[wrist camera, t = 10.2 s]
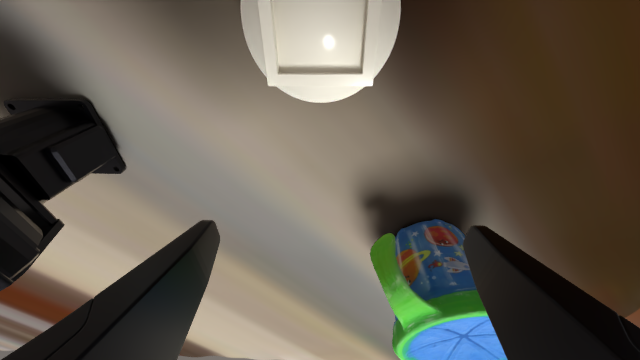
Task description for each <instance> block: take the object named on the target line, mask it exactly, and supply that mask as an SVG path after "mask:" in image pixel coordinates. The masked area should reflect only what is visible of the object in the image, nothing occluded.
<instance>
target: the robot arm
mask: <svg viewBox="0 0 640 360" xmlns="http://www.w3.org/2000/svg"><path fill="white" fill-rule="evenodd" d="M4 105H5V107H6V108H7V110H8V111H9V112H10V114H11V115H10V116H7V117H4V118H1V119H0V291H1V290H3V289H5V288H6V287H8V286H10V285H11V284H12V283H13V282H14V281H16V280H17V279H18V278H19V277H21V276H22V275H23V274H24V273H25V272H26V271H27V270H28V269H29V268H30V266H31V265H32V264H33V263H34V262H35V260H36V259H37V258H38V257H39V255H40V254H41V253H42V252H43V251H44V249H45V248H46V247H47V246H48V244H49V243H50V242H51V241H52V240H53V238H54V237H55V236H56V235H57V233H58V232H59V231H60V230H61V229H62V227H63V226H64V223H63V222H62V221H61V220H60V219H56V218H55V216H54V215H53V214H52V213H51V212H50V211H49V210H48V209H47V208H46V207H45V206H44V205H43V203H45V202H46V201H48V200H50V199H52V198H53V197H55V196H56V195H58V194H59V193H61V192H62V191H64V190H65V189H67V188H68V187H70V186H71V185H73V184H74V183H76V182H78V181H80V180H81V179H83V178H84V177H86V176H87V175H89V174H90V173H103V174H120V173H122V172H123V171H125V169H126V168H125V166H124V164H123V162H122V160H121V158H120V157H119V155H118V153H117V151H116V149H115V147H114V146H113V144H112V142H111V140H110V138H109V136H108V135H107V133H106V131H105V129H104V127H103V125H102V124H101V122H100V120H99V118H98V116H97V114H96V113H95V111H94V109H93V107H92V105H91V104H90V103H89V102H88V101H86V100H84V99H10V100H6V101H4ZM82 105H83V106H84V107H83V106H82ZM219 243H220V235H219V232H218V229H217V226H216V224H215V222H214V221H213V220H202V221H200V222H198V223H197V224H196V225H194V226H193V227H191V228H190V229H189V230H187V231H186V232H184V233H183V234H182V235H180V236H179V237H177V238H176V239H175V240H173V241H172V242H170V243H169V244H168V245H166V246H165V247H163V248H162V249H161V250H159V251H158V252H156V253H155V254H154V255H152V256H151V257H149V258H148V259H147V260H145V261H144V262H142V263H141V264H140V265H138V266H137V267H135V268H134V269H133V270H131V271H130V272H128V273H127V274H126V275H124V276H123V277H121V278H120V279H119V280H117V281H116V282H114V283H113V284H112V285H110V286H109V287H107V288H106V289H105V290H103V291H102V292H100V293H99V294H98V295H96V296H95V297H94V299H91V300H89V301H88V302H86V303H85V304H84V305H82V306H81V307H79V308H78V309H77V310H75V311H74V312H72V313H71V314H69V315H68V316H67V317H65V318H64V319H62V320H61V321H59V322H58V323H56V324H55V325H54V326H52V327H51V328H49V329H48V330H46V331H45V332H43V333H41V334H40V335H38V336H37V337H35V338H34V339H32V340H31V341H29V342H28V343H26V344H25V345H23V346H22V347H20V348H19V349H17V350H15V351H14V352H12V353H11V354H9V355H8V356H7V357H5V358H3V359H2V360H177V359H178V356H179V354H180V351H181V349H182V346H183V344H184V341H185V339H186V336H187V334H188V331H189V329H190V326H191V324H192V321H193V319H194V316H195V314H196V312H197V309H198V307H199V304H200V302H201V299H202V297H203V294H204V292H205V289H206V287H207V284H208V281H209V278H210V275H211V271H212V268H213V264H214V261H215V257H216V254H217V250H218V247H219ZM463 249H464V252H465V255H466V259H467V262H468V265H469V268H470V271H471V274H472V277H473V280H474V283H475V286H476V289H477V292H478V294H479V296H480V299H481V301H482V303H483V306H484V308H485V310H486V312H487V315H488V317H489V319H490V321H491V324H492V326H493V328H494V330H495V333H496V335H497V337H498V340H499V342H500V344H501V346H502V349H503V351H504V353H505V355H506V358H507V360H640V328H639V327H637V326H636V325H634V324H633V323H631V322H630V321H628V320H627V319H625V318H624V317H622V316H618V314H617V313H616V312H615V311H613V310H612V309H610V308H609V307H607V306H606V305H604V304H602V303H601V302H599V301H598V300H596V299H595V298H593V297H592V296H590V295H589V294H587V293H586V292H584V291H583V290H581V289H580V288H578V287H577V286H575V285H574V284H572V283H571V282H569V281H568V280H566V279H565V278H563V277H562V276H560V275H559V274H557V273H556V272H554V271H553V270H551V269H550V268H548V267H547V266H545V265H543V264H542V263H540V262H539V261H537V260H536V259H534V258H533V257H531V256H530V255H528V254H527V253H525V252H524V251H522V250H521V249H519V248H518V247H516V246H515V245H513V244H512V243H510V242H509V241H507V240H506V239H504V238H503V237H501V236H500V235H498V234H497V233H495V232H494V231H492V230H491V229H489V228H487V227H486V226H471V227H470V228H469V230H468V232H467V234H466V236H465V239H464V241H463Z"/></svg>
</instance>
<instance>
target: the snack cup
mask: <svg viewBox="0 0 640 360" xmlns="http://www.w3.org/2000/svg"><path fill="white" fill-rule="evenodd" d="M464 239H465V235H464V234H463V233H462V232H461V231H460V230H459V229H458V228H457V227H455V226H454V225H452V224H449V223H446V222H444V221H442V220H438V219H433V220H431V221H423V222H419V223H416V224H413V225H411V226H409V227H406V228H402V229H400V231H399V232H398V233H397V236H396V237H395V236H394V234H392V233H387V234H385V235H383V236H382V237H381V238H379V239H378V240H377V241H376V242H375V243H374V245H373V246H372V248H371V252H370V256H371V261H372V263H373V266H374V269H375V271H376V273H377V275H378V278H379V280H380V282H381V285H382V287H383V290H384V292H385V295H386V297H387V299H388V302H389V304H390V306H391V308H392V309H393V311H394V313H395V318H396V321H395V322H394V327H393V340H392V344H393V350H394V351H395V353H396V355H397V356H398V357H399V358H400V359H401V360H507V358H506V355H505V353H504V351H503V349H502V346H501V344H500V342H499V340H498V337H497V335H496V333H495V330H494V328H493V326H492V324H491V321H490V319H489V317H488V315H487V312H486V310H485V308H484V306H483V303H482V301H481V299H480V296H479V294H478V292H477V289H476V286H475V283H474V280H473V277H472V274H471V271H470V268H469V265H468V262H467V259H466V255H465V252H464V249H463V241H464Z"/></svg>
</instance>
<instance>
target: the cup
mask: <svg viewBox="0 0 640 360" xmlns="http://www.w3.org/2000/svg"><path fill="white" fill-rule="evenodd" d="M400 13H401V0H241V19H242V26H243V31H244V36H245V39H246V42H247V45H248V48H249V50H250V52H251V54H252V57H253V58H254V60H255V62H256V64H257V65H258V67H259V68H260V70H261V71H262V72H263V74H264V75H265V76H266V77H267V81H268V86H276V87H278V88H279V89H280V90H282V91H283V92H285V93H287V94H289V95H291V96H293V97H295V98H298V99H300V100H304V101H308V102H317V103H325V102H333V101H338V100H341V99H344V98H347V97H349V96H351V95H353V94H355V93H356V92H358V91H359V90H361V89H362V88H364V87H365V86H373V78H374V77H375V76H376V75H377V74H378V73H379V71H380V70H381V69H382V67H383V66H384V64H385V62H386V61H387V59H388V57H389V55H390V53H391V51H392V48H393V46H394V43H395V40H396V37H397V33H398V28H399V23H400Z"/></svg>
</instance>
